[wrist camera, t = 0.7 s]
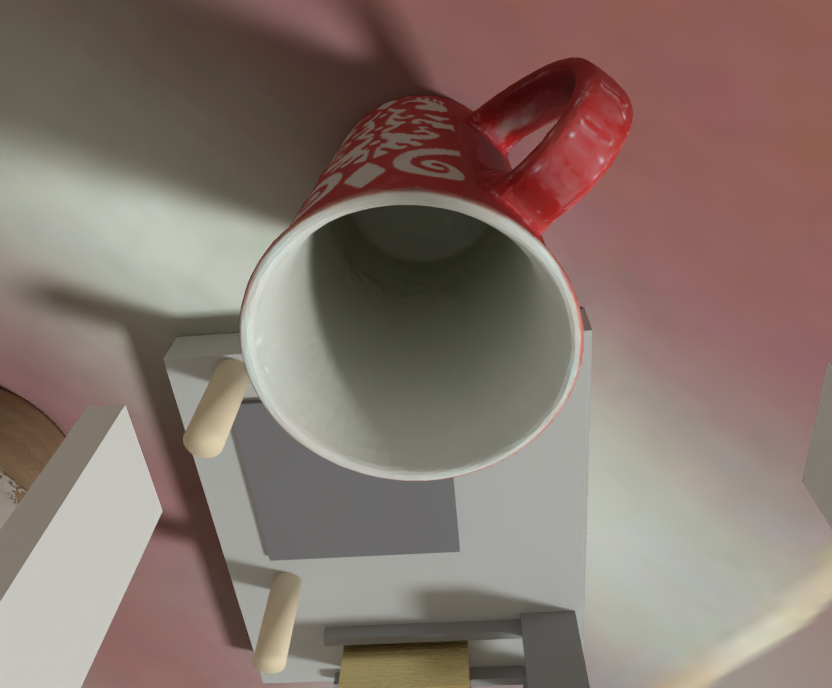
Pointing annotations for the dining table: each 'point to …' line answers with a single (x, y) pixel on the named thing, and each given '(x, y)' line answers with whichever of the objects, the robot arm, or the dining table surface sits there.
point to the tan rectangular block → (406, 665)
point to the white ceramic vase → (22, 448)
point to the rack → (390, 537)
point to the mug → (433, 280)
